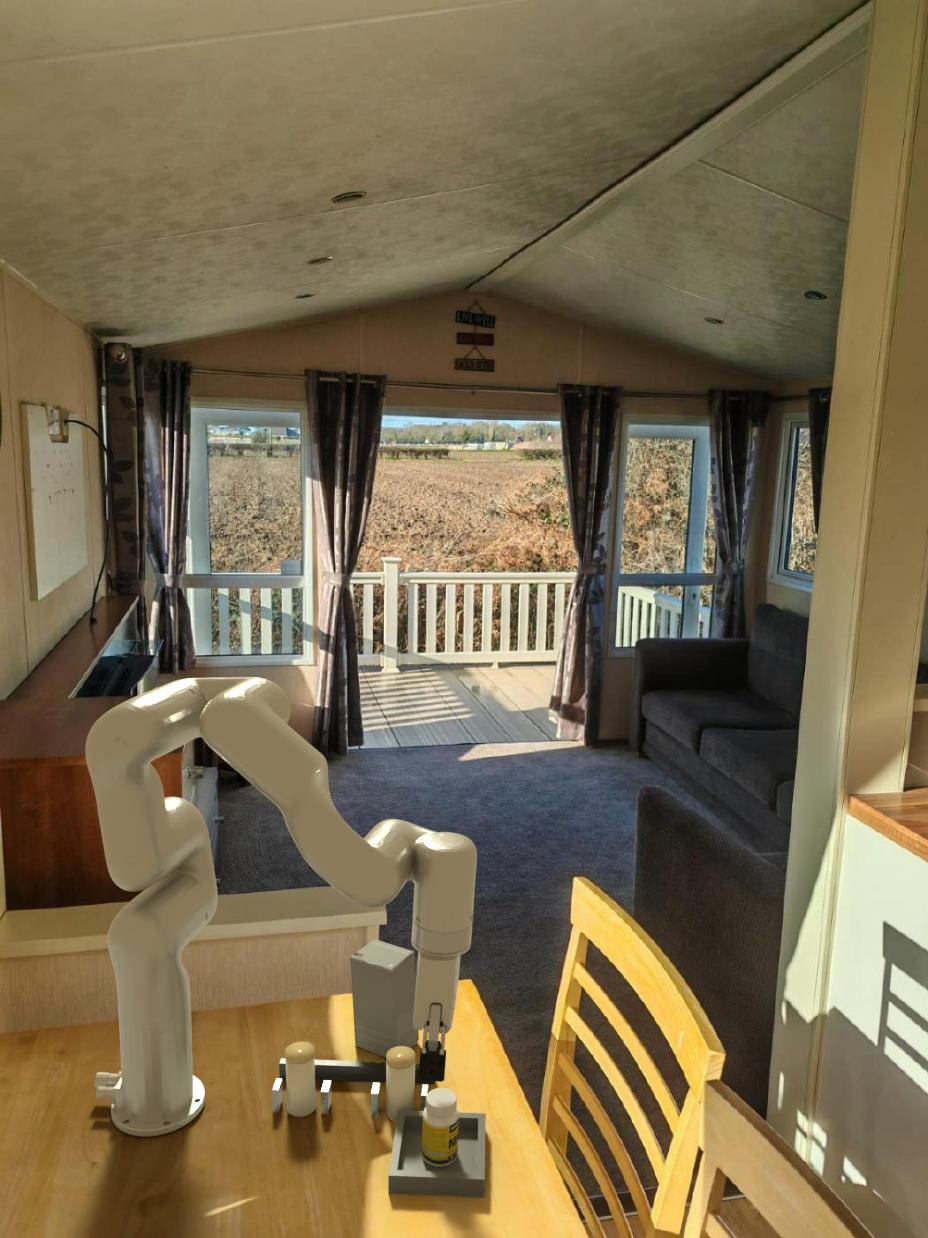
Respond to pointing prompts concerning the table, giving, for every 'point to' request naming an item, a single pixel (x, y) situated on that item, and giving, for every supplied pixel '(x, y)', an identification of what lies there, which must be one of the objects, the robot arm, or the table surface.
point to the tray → (428, 1180)
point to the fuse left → (300, 1079)
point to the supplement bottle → (440, 1128)
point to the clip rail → (347, 1072)
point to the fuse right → (400, 1081)
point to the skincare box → (383, 997)
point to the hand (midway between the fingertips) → (433, 1054)
